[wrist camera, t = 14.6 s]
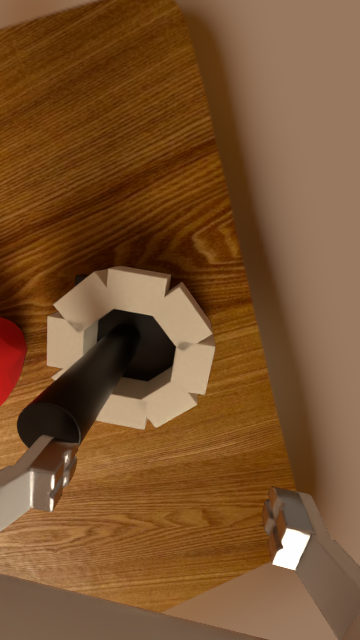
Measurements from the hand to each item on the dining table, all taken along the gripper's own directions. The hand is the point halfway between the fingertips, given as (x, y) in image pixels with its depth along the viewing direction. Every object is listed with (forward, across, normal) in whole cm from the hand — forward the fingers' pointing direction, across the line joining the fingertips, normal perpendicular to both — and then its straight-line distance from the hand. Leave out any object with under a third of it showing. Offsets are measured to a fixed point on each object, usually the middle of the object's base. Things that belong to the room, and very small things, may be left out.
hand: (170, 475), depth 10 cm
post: (+14, +6, 0) cm, 15 cm away
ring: (+13, +5, 0) cm, 14 cm away
